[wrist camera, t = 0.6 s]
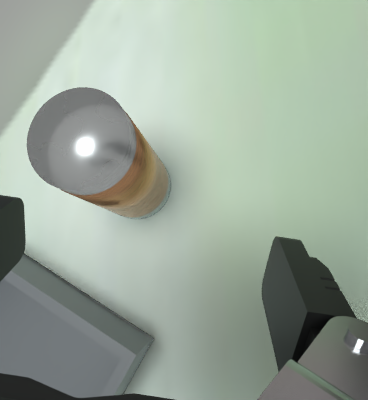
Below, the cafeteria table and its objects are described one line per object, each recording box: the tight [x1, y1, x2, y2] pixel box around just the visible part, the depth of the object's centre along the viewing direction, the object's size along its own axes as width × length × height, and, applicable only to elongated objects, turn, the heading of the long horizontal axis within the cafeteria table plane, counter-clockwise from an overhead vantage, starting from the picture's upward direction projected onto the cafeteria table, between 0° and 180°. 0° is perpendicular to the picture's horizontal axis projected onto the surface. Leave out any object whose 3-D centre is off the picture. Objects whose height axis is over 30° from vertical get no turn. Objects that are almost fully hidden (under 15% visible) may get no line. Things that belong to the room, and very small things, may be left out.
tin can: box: [27, 87, 171, 219], centre depth 26 cm, size 6×6×13 cm
